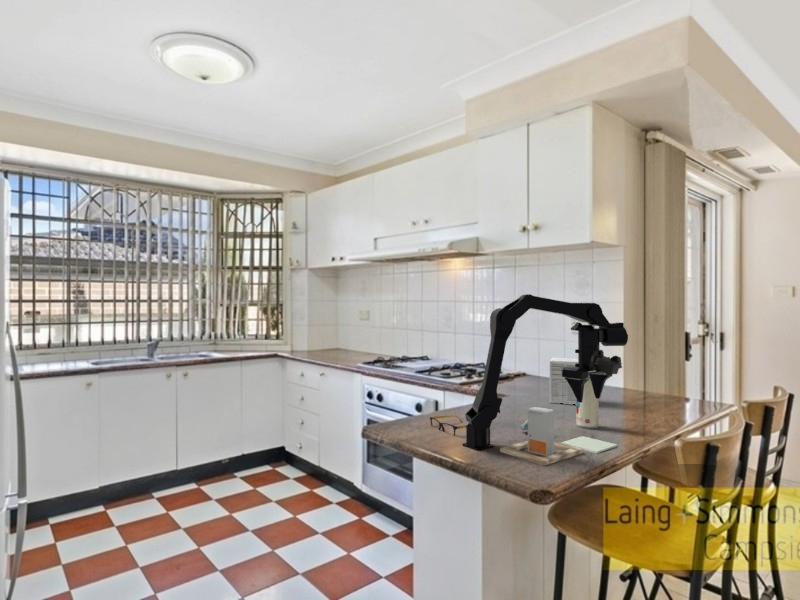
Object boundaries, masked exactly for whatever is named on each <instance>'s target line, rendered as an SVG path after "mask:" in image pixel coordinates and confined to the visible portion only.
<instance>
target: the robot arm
mask: <svg viewBox="0 0 800 600" xmlns="http://www.w3.org/2000/svg"><path fill="white" fill-rule="evenodd" d="M529 310H537V311H542V312H548V313H552V314H557V315H564V316H566V317H569V318H571V319H573V320H576V321H578V322H575V324H574V325H573V326H571V328H570V330H571V331H575V332H578V333H577V339H578V340H577V341H578V342H577V345H578V347H577V349H575V350H574V353H575V354H578V355H577V356H578V358H577V359H578V363H576V364H575V367H574V366H569V367H564V368H563V369H562V377H565V380H567V382H568V383H569V385H570V387H571V389H572V391H573V393H574V395H575V397H576V399H577V401H578V402H580V403H582V400H583V392H584V384H585V383H586V382H587V381H588V380H589V379H586V378H587V377H588V374H589V375H590V379H591V383H592V387H593V391H594V394H595V397H596V398H597V399H599V400H600V398H601V396H602V392H603V390H604V387H605V384H606V381H607V380H609V379H610V378H611V377H613V375H617V374H618V373H619V369H622V368H623V365H622V364H623V363H622V358H621V357H620V356H618V355H612V356H611V357H610V356H605V355H604V350H603V349H600V343H601V345H602V346H603V347H625V346H626V345H627V343H628V341H629V334H628V331H627V329H626V328H625V325H624V324H625V323H624V322H609V320H608V319H607V317H606V316H605V315H604V313H603V309H602V307H601V305H600V304H598V303H595V302H568V301H562V300H557V299H551V298H547V297H543V296H542V297H541V296H535V295H532V294H522V295H520V296H519V297H518V298H517V299H515V300H513V301H512V302H509V303H508V304H507V305H505V306H503V307H502V308H500V307H499V308H495V309H494V310H493V311H492V312H491V313H490V317H489V322H490V323H489V330H490V332H489V333H490V343H489V347H488V353H487V358H486V363H485V366H484V374H483V377H482V383H481V386H480V388H479V390H478V391H477V393H476V395H475V398H474V400H473V402H472V407H471V408H470V409H469V410H468V411H467V412H466V413H465V414H464V417H465V420H466V422H468V423H467V424H465V425H466V429H465V431H466V432H465V433H466V434H465V435H466V437H465V438H466V442H463V443H462V447H466V448H469V449H472V450H474V449H475V451H483V450H486V449H491V448H494V446H495V445H494V444H492V443H491V425H492V423H493V421H494V420H495V419H497V416H498V414H501V405H502V402H503V398H502V397H501V396H499V395H498V385H499V381H500V376H501V369H502V366H503V361H504V356H505V355H504V354H505V350H506V345H507V341H508V339H509V337H510V336H511V334H512V332H513V330H514V328H515V326H516V322H517V320H519V319H520V318H521V317H522V316H524V315H525V313H527V312H528V311H529ZM582 323H587V324H582ZM595 326H596V327H597V328H596V327H595ZM594 327H595V328H594Z"/></svg>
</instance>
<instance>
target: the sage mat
mask: <svg viewBox="0 0 800 600" xmlns="http://www.w3.org/2000/svg"><path fill="white" fill-rule="evenodd" d="M560 443H562V444H566V445H569V446H573V447H577V448H581V449H582V451H585V452H590V453H593V454H600V453H603V452H606V451H608V450H610V449H614V448H617V447H618V444H616V443H612V442H608V441H604V440H601V439H600V440H599V439H596V438H593V437H588V436H584V435H581V436H578V437H575V438H571V439H568V440H565V441H561V442H560Z"/></svg>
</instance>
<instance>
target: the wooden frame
mask: <svg viewBox="0 0 800 600" xmlns="http://www.w3.org/2000/svg"><path fill="white" fill-rule="evenodd" d="M523 449H528V440H525V441H521V442H518V443H514V444H511V445H507V446H506V445H505V446H503V447H500V448H499V452H500V453H502V454H506V455H509V456H511V457H515V458H519V459H521V460H525V461H528V462H531V463H534V464H536V465H540V466H547V465H551V464H553V463H557V462H559V461H563V460H565V459H569V458H571V457H572V458H573V457H576V456H578V455H582V454H583V450H582V449H581V448H577V447H573V446H569V445H566V444H562V443H561V442H558V441H555V440H554V450H560V451H559V452H557V453H554V454H551V455H549V456H543V457H542V456H541V457H540V456H537V455H534V454H533V453H529V452H524V451H521V450H523Z"/></svg>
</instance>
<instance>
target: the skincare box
mask: <svg viewBox="0 0 800 600" xmlns="http://www.w3.org/2000/svg"><path fill="white" fill-rule="evenodd" d="M527 420H528V430H527V441H528V448H527V453H530V454H536V455H540V456H543V457H547V456H550V455H553V454H555V448H554V441H555V410H554V409H551V408H545V407H538V406H533V407H529V408H528V409H527Z"/></svg>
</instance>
